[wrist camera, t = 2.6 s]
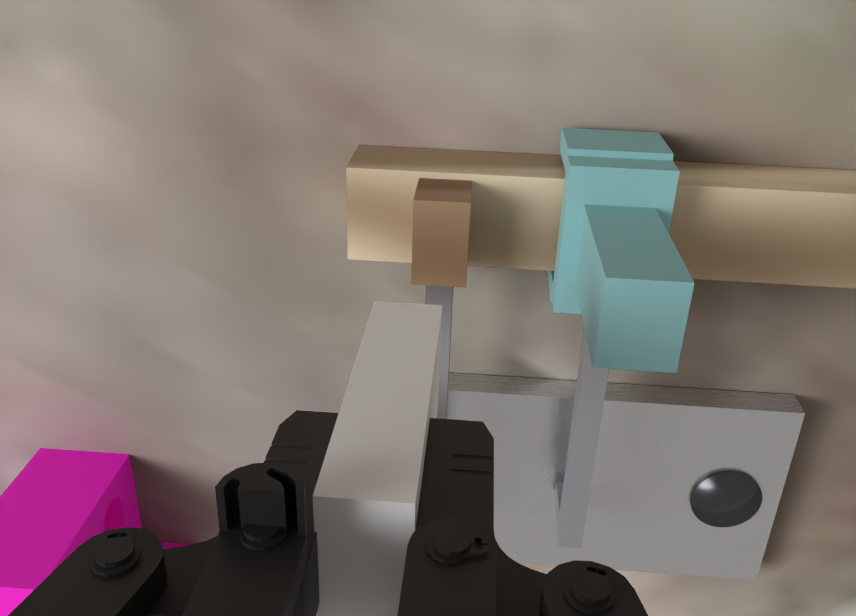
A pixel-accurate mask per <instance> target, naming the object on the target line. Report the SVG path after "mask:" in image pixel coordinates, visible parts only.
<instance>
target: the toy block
mask: <svg viewBox="0 0 856 616" xmlns="http://www.w3.org/2000/svg"><path fill="white" fill-rule="evenodd" d="M124 527H132V528H141V529H142V525H141V519H140V514H139V508H138V502H137V496H136V490H135V484H134V479H133V473H132V467H131V461H130V455H129V454H117V453H103V452H88V451H74V450H59V449H45V448H40V449H39V451H38V452H37V453H36V454H35V455H34V457H33V458H32V459H31V460H30V461H29V463H28V464H27V465H26V466H25V467H24V469H23V470H22V471H21V472H20V474H19V475H18V476H17V477H16V478H15V480H14V481H13V482H12V483H11V484H10V486H9V487H8V488H7V489H6V490H5V492H4V493H3V494H2V495H1V496H0V616H8V615H9V614H10V613H11V612H12V611H13V610H14V609H15V608H16V607H17V606H18V605H19V604H20V603H21V602H22V601H23V600H24V599H25V598H26V597H27V596H28V595H29V594H30V593H31V592H32V591H33V590H34V589H35V588H37V587H38V586H39V585H40V584H41V583H42V582H43V581H44V580H45V579H46V578H47V577H48V576H49V575H50V574H51V573H52V572H53V571H54V570H55V569H56V568H57V567H58V566H59V565H60V564H61V563H62V562H63V561H64V560H65V559H66V558H67V557H68V556H69V555H70V554H71V553H72V552H73V551H74V550H75V549H76V548H77V547H79V546H80V545H81V544H83V543H84V542H86V541H87V540H88V539H90V538H91V537H93V536H95V535H98V534H100V533H103V532H105V531H108V530H111V529H118V528H124ZM161 543H162V544H163V549H167V548H173V547H179V546H185V545H192V544H182V543H169V542H161Z"/></svg>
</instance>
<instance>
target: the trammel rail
mask: <svg viewBox="0 0 856 616" xmlns="http://www.w3.org/2000/svg"><path fill="white" fill-rule="evenodd" d="M673 162H674V164H675V165H676V166H677V168H678V169H679V171H680V173H679V178H678V184H677V189H676V195H675V201H674V206H673V212H672V217H671V223H670V229H669V235H670V237H671V239H672V241H673V243H674V245H675V247H676V248H677V250H678V252H679V254H680V256H681V258H682V260H683V262H684V264H685V266H686V267H687V269H688V271H689V273H690V275H691V277H692V279H700V280H718V281H735V282H752V283H770V284H787V285H805V286H822V287H839V288H856V170H842V169H823V168H803V167H783V166H763V165H743V164H723V163H704V162H684V161H673ZM565 173H566V172H565V168H564V164H563V161H562V157H561V155H545V154H525V153H505V152H485V151H465V150H446V149H426V148H406V147H386V146H366V145H358V147H357V149H356V151H355V153H354V155H353V156H352V158H351V160H350V162H349V164H348V166H347V167H346V174H347V239H348V259H353V260H370V261H387V262H405V263H412V274H411V284H414V285H426V303H425V304H429V305H442V326H441V349H440V371H439V393H438V413H437V418H439V419H447V400H448V380H449V360H450V341H451V321H452V301H453V287H465V288H466V278H467V266H474V267H492V268H509V269H526V270H544V271H555V262H556V253H557V244H558V235H559V226H560V218H561V209H562V200H563V191H564V182H565Z"/></svg>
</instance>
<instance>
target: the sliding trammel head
mask: <svg viewBox="0 0 856 616" xmlns="http://www.w3.org/2000/svg"><path fill="white" fill-rule="evenodd" d="M560 153H561V157H562V161H563V164H564V168H565V172H566V173H565V182H564V191H563V200H562V209H561V218H560V226H559V235H558V244H557V253H556V262H555V271H546V274H547V281H548V288H549V295H550V302H551V304H552V305H553V312H554V313H569V314H581V315H582V319H583V324H584V335H583V342H582V350H581V357H580V364H579V372H578V379H577V386H576V394H575V401H574V409H573V416H572V423H571V431H570V438H569V445H568V453H567V460H566V468H565V475H564V482H563V483H556V489H555V497H554V502H555V512H556V522H557V537H558V546H559V547H571V548H581V547H582V540H583V534H584V528H585V521H586V515H587V508H588V502H589V495H590V489H591V483H592V476H593V470H594V463H595V457H596V450H597V444H598V438H599V431H600V425H601V418H602V412H603V405H604V399H605V393H606V386H607V380H608V373H609V369H621V370H637V371H653V372H669V373H677V368H678V363H679V358H680V353H681V348H682V343H683V338H684V333H685V328H686V323H687V318H688V313H689V308H690V303H691V298H692V293H693V288H694V281H693V279H692V277H691V275H690V273H689V271H688V269H687V267H686V266H685V264H684V262H683V260H682V258H681V256H680V254H679V252H678V250H677V248H676V247H675V245H674V243H673V241H672V239H671V237H670V235H669V229H670V223H671V217H672V212H673V206H674V201H675V195H676V189H677V184H678V178H679V173H680V171H679V169H678V168H677V166H676V165H675V164H674V162H673V155H674V154H673V152H672V151H671V149H670V148H669V147H668V145H667V144H666V142H665V141H664V140H663V138H662V137H661V135H660V134H659V133H658V132H641V131H620V130H600V129H579V128H562V131H561V140H560Z"/></svg>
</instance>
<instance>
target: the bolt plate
mask: <svg viewBox="0 0 856 616" xmlns="http://www.w3.org/2000/svg"><path fill="white" fill-rule="evenodd" d="M576 386H577V381H571V380H555V379H539V378H524V377H508V376H493V375H477V374H461V373H449V380H448V400H447V419H454V420H468V421H483V422H484V424H485V425H486V427H487V429H488V430H489V432H490V433H491V435H492V436H493V438H494V534H495V539H496V541H497V543H498V545H499V547H500V548H501V549H502V550H503V551H504V553H505V554H506V555H507V556H508V557H510V558H511V559H513V560H514V561H515V562H520V563H533V564H546V565H559V564H562V563H566V562H570V561H574V560H579V561H593V562H596V563H599V564H602V565H605V566H609V567H611V568H612V569H614V570H626V571H639V572H652V573H666V574H679V575H692V576H705V577H718V578H732V579H745V580H757V576H758V573H759V570H760V566H761V563H762V559H763V556H764V553H765V549H766V546H767V542H768V539H769V536H770V532H771V529H772V525H773V522H774V518H775V515H776V512H777V508H778V505H779V501H780V498H781V495H782V491H783V488H784V484H785V481H786V478H787V474H788V471H789V467H790V464H791V461H792V457H793V454H794V450H795V447H796V443H797V440H798V437H799V433H800V430H801V426H802V423H803V420H804V416H805V412H804V410H803V409H802V407H801V406H800V404H799V402H798V401H797V399H796V397H795V396H794V395H789V394H773V393H758V392H742V391H726V390H711V389H695V388H680V387H664V386H648V385H633V384H617V383H607V386H606V393H605V399H604V405H603V412H602V418H601V425H600V431H599V438H598V444H597V450H596V457H595V463H594V470H593V476H592V483H591V489H590V495H589V502H588V508H587V515H586V521H585V528H584V534H583V540H582V547H581V548H571V547H559V546H558V537H557V522H556V512H555V502H554V497H555V489H556V483H563V482H564V475H565V468H566V460H567V453H568V445H569V438H570V431H571V423H572V416H573V409H574V401H575V394H576Z"/></svg>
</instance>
